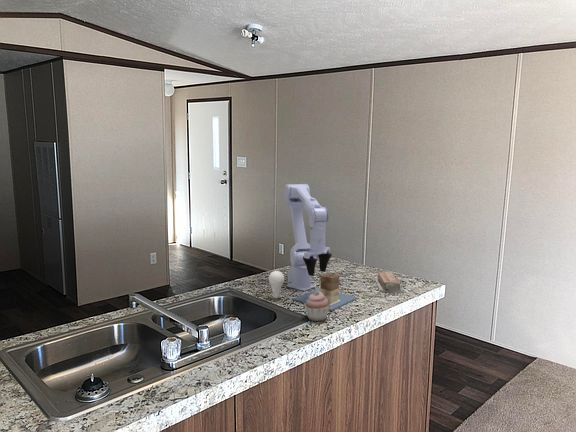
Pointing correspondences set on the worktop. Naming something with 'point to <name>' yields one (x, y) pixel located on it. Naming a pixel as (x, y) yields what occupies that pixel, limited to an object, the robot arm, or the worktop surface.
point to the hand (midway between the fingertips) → (317, 273)
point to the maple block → (331, 295)
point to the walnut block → (329, 282)
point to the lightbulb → (276, 283)
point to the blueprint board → (342, 301)
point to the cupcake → (317, 306)
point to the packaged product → (388, 282)
